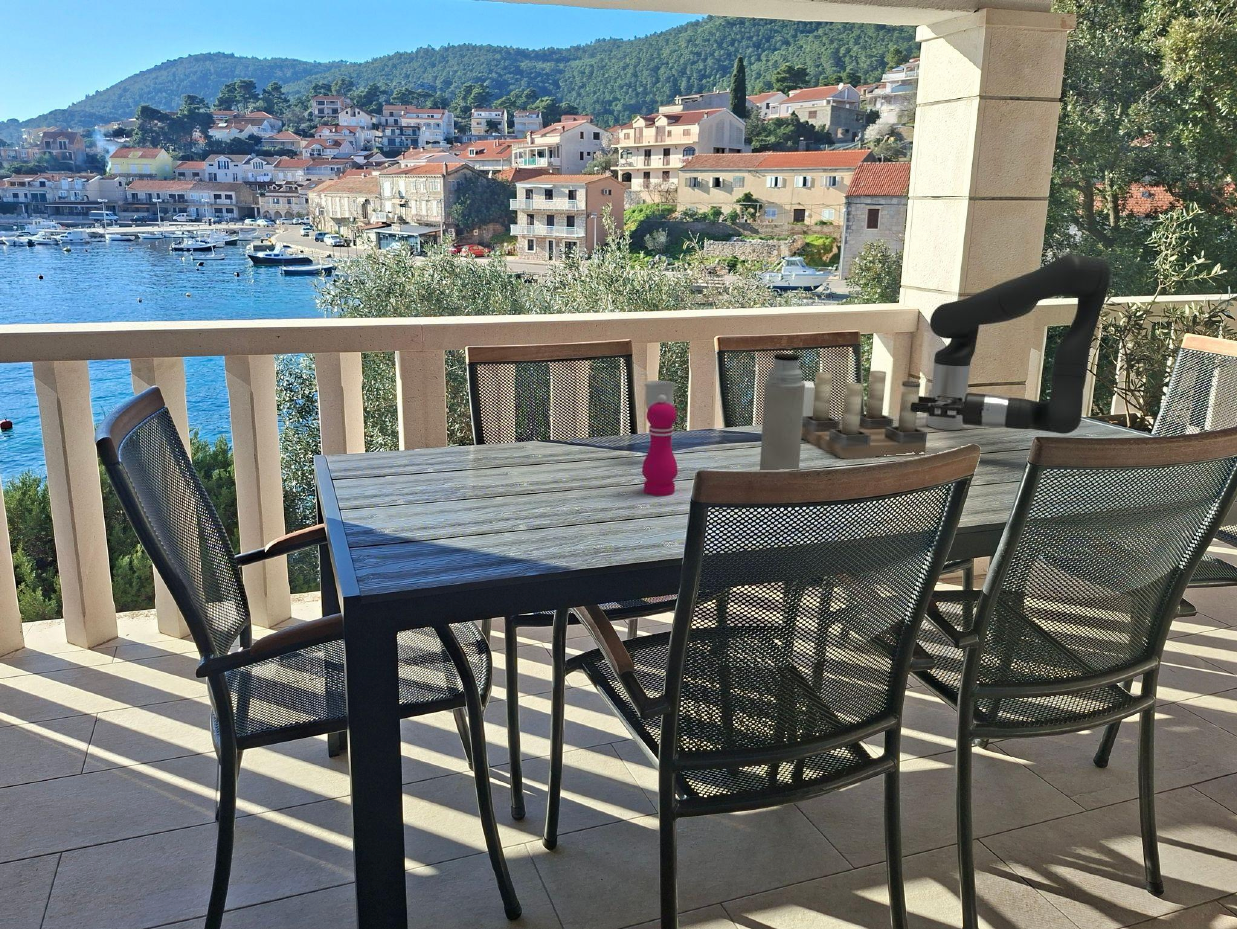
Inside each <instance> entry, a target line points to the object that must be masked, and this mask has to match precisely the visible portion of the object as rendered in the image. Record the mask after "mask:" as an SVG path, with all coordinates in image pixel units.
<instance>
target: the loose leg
mask: <svg viewBox="0 0 1237 929" xmlns="http://www.w3.org/2000/svg"><path fill="white" fill-rule="evenodd" d="M901 382H902V384H901V392H900V393H901V395H900V396H901V397H900V405H899V414H898V415H899V416H898V424H897V425H898V431H899V432H902V433H907V432H915V428H917V427H916V426H917V419H918V418H917V415H918V412H911V410H910V408H911V403H912V402H918V399H919V396H920V388H921V382H920V381H914V380H904V381H901Z"/></svg>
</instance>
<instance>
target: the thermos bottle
mask: <svg viewBox="0 0 1237 929" xmlns="http://www.w3.org/2000/svg"><path fill="white" fill-rule="evenodd" d="M773 356H774V357H773V359H774V362H773V368H771V369H769V372H768V374H767V376H768V379H767V380H765V381H764V391H763V392H764V394H763V410H762V411H763V412H762V427H761V442H760V444H761V446H760V460H759V471H760V470H779V469H799V470H800V460H801V459H800V458H801V448H802V446H801V445H802V444H801V443H802V438H801V434H802V420H803V406H804V392H805V383H804V382H802V381H803V377H804V375H803V372H802V370H800V368H799V364H800V363H799V360H800V355H798V354H795V353H776V354H774V355H773Z"/></svg>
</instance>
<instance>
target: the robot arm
mask: <svg viewBox="0 0 1237 929" xmlns="http://www.w3.org/2000/svg"><path fill="white" fill-rule="evenodd" d="M1110 278H1111V268H1110V266H1109V264H1108V262H1107V261H1106V260H1104V259H1103V258H1101V257H1097V256H1091V255H1090V256H1089V255H1084V254H1078V253H1070V254H1066V255H1062V256H1060V257H1058V258H1056V259H1054V260H1052V261H1051V262H1049V263H1047V264H1045V265H1044V266H1042V267H1039V268H1038V269H1035V270H1034V271H1031V272H1028V273H1025V274H1022V275H1020V276H1018V277H1015V278H1012V279H1009V280H1006V281H1004V282H1001V283H999V284H997V285H994V286H991V287H989V288H987V289H984V290H983V291H979V292H978V293H975V294H973V295H971V296H969V297H967V298H966V297H965V298H963V299H960V300H955V301H952V302H951V301H950V302H946V303H942V304H940V305H939V306H937V307H936V308H935V309H934V310H933V312H932V314H931V316H930V321H929V326H930V329H931V331H932V332H933V334H934V335H936V336H937V337H939V338H942V339H950V341H949V343H948V344H947V345H946V346H945V347H943V348H941V349H939V350H937V351H936V352H935V354H934V360H933V369H932V370H933V371H932V378H931V387H930V389H929V391H928V396H925V395H924V396H923V395H919V399H918V402H912V403H911V408H910V410H911V412H917V413H920V414H921V413H923V414H926V419H925V423H926V424H927V426H928V427H930V428H933V429H937V430H945V431H946V430H947V431H956V430H957V431H958V430H962V429H963V428H964V425H965V426H973V427H984V428H994V429H995V428H997V429H999V428H1003V429H1004V428H1005V429H1014V430H1036V431H1042V432H1049V433H1058V434H1062V435H1065V434H1070V433H1072V432H1074V431H1076V430H1077V429H1078V427H1080V424H1081V423H1082V422H1081V421H1082V414H1083V406H1084V405H1083V404H1084V389H1085V385H1086V381H1087V374H1088V369H1089V368H1088V366H1089V360H1090V352H1091V347H1092V342H1093V338H1094V335H1095V332H1096V329H1097V326H1098V322H1099V319H1100V316H1101V315H1100V314H1101V313H1102V308H1103V305H1104V302H1105V298H1106V295H1107V292H1108V290H1109V289H1108V288H1109V284H1110V280H1111V279H1110ZM1055 297H1068V298H1069V297H1070V298H1077V305H1076V306H1077V307H1076V313H1075V316H1074V319H1073V321H1072V322H1071V324H1070V327H1069V328H1068V330H1067V331H1066V333H1065V334H1064V336H1063V337H1062V338H1061V340H1060V341H1059V344H1058V345H1057V347H1056V350H1055V353H1054V357H1053V362H1052V363H1053V364H1052V372H1051V381H1050V382H1051V383H1050V384H1051V391H1050V396H1049V401H1039V400H1038V401H1037V400H1036V401H1035V400H1033V399H1028V398H1018V397H1010V396H1009V397H1008V396H1002V395H997V394H988V393H975V392H968V387H969V379H970V370H971V362H972V359H973V357H974V355H975V352H976V348H977V340H978V335H979V329H980V326H983V325H984V326H985V325H992V324H998V323H999V324H1000V323H1004V322H1008V321H1013V320H1015V319H1018V318H1021V317H1024V316H1026V315H1028V314H1029V313H1031V312H1032V311H1033V310H1034V309H1035V308H1036V306H1037V305H1038V303H1039V302H1040V301H1043V300H1046V299H1050V298H1055Z"/></svg>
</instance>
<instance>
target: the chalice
mask: <svg viewBox="0 0 1237 929" xmlns="http://www.w3.org/2000/svg"><path fill="white" fill-rule="evenodd" d="M643 384H644V386H645V407H646V410H647V411H648V408H649V407H650V406H651V405H652V404H654V403H658V397H659V396H660V395H665V396H666V399H667V400H666V402H665V403H669V404H671V405H672V406H673V407H674V390H675V387H676V386H677V383H676V382H674V381H669V380H647V381H644V382H643Z"/></svg>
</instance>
